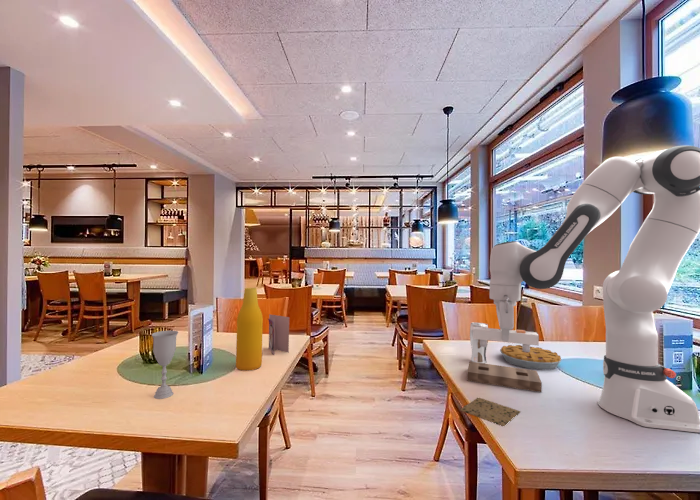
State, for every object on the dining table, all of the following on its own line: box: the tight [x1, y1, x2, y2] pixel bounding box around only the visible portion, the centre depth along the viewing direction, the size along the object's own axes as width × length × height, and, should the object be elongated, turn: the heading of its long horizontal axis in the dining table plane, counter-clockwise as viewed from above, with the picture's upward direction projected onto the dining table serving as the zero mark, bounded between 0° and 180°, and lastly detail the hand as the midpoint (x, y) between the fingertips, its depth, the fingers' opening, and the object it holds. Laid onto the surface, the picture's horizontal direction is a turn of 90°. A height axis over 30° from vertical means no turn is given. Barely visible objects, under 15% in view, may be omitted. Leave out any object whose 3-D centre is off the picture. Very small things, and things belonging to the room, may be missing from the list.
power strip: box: [473, 327, 540, 352], centre depth 102 cm, size 18×4×6 cm, turn 68°
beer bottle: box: [235, 287, 264, 372], centre depth 122 cm, size 9×9×29 cm
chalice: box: [151, 330, 179, 400], centre depth 96 cm, size 7×7×18 cm
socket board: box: [466, 361, 543, 393], centre depth 113 cm, size 22×12×3 cm, turn 67°
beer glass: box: [469, 322, 489, 364], centre depth 133 cm, size 7×7×15 cm
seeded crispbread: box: [460, 397, 521, 427], centre depth 90 cm, size 12×12×1 cm
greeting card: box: [267, 314, 290, 356], centre depth 142 cm, size 11×7×15 cm, turn 25°
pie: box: [499, 344, 562, 371], centre depth 134 cm, size 22×22×5 cm
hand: (504, 338), depth 102 cm, fingers closed on power strip, 4 cm apart
